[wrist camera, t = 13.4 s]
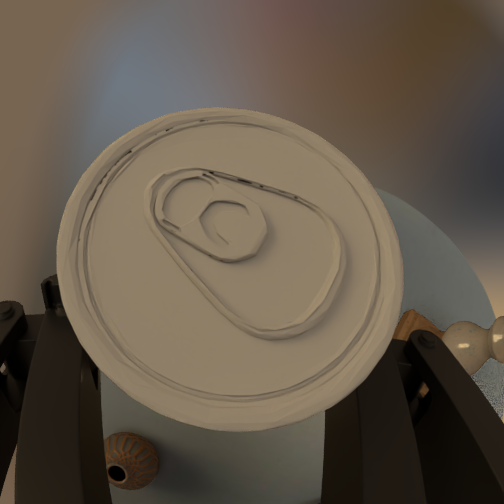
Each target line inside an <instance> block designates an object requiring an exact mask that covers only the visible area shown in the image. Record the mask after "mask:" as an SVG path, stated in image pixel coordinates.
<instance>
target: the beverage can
mask: <svg viewBox="0 0 504 504" xmlns="http://www.w3.org/2000/svg"><path fill="white" fill-rule="evenodd" d="M57 277H58V282H59V288H60V293H61V298H62V303H63V306H64V309H65V311H66V314H67V317H68V319H69V321H70V323H71V325H72V327H73V330H74V332H75V334H76V336H77V338H78V340H79V342H80V343H81V345H82V346H83V348H84V349H85V350H86V352H87V353H88V355H89V356H90V357H91V359H92V360H93V362H94V363H95V364H96V366H97V367H98V368H99V369H100V370H101V371H102V372H103V373H104V374H105V375H106V376H107V377H108V378H109V379H111V380H112V381H113V382H114V383H115V384H116V385H117V386H118V387H120V388H121V389H122V390H123V391H124V392H125V393H126V394H128V395H129V396H130V397H132V398H133V399H135V400H137V401H138V402H140V403H142V404H143V405H145V406H147V407H149V408H150V409H152V410H154V411H156V412H157V413H159V414H161V415H164V416H167V417H169V418H172V419H174V420H177V421H180V422H183V423H187V424H191V425H194V426H198V427H202V428H206V429H212V430H221V431H231V432H245V431H258V430H267V429H272V428H277V427H282V426H287V425H291V424H296V423H299V422H301V421H303V420H305V419H308V418H310V417H312V416H314V415H316V414H318V413H320V412H322V411H325V410H327V409H329V408H331V407H332V406H334V405H335V404H337V403H338V402H339V401H341V400H342V399H344V398H345V397H347V396H348V395H349V394H350V393H351V392H352V391H353V390H354V389H356V388H357V387H358V386H359V385H360V384H361V383H362V382H363V381H364V380H365V379H366V378H367V377H368V375H369V374H370V373H371V371H372V370H373V369H374V367H375V366H376V364H377V363H378V362H379V360H380V359H381V357H382V356H383V355H384V353H385V351H386V349H387V347H388V345H389V343H390V341H391V339H392V337H393V334H394V331H395V328H396V326H397V323H398V319H399V314H400V309H401V303H402V297H403V260H402V255H401V250H400V245H399V240H398V236H397V233H396V231H395V228H394V225H393V222H392V220H391V218H390V216H389V214H388V212H387V210H386V208H385V206H384V204H383V202H382V200H381V199H380V197H379V196H378V194H377V193H376V191H375V190H374V188H373V187H372V185H371V184H370V182H369V181H368V180H367V178H366V177H365V175H364V174H363V173H362V172H361V171H360V170H359V169H358V168H357V167H356V166H355V165H354V164H353V163H352V162H351V161H350V160H349V159H348V158H347V157H346V156H345V155H344V154H343V153H341V152H340V151H339V150H338V149H336V148H335V147H334V146H332V145H331V144H330V143H328V142H327V141H325V140H324V139H322V138H321V137H320V136H318V135H317V134H315V133H313V132H311V131H308V130H307V129H305V128H303V127H301V126H299V125H296V124H294V123H292V122H290V121H287V120H284V119H281V118H278V117H275V116H272V115H268V114H264V113H260V112H255V111H251V110H244V109H233V108H212V107H209V108H201V109H194V110H188V111H182V112H176V113H171V114H167V115H165V116H162V117H160V118H157V119H155V120H152V121H150V122H147V123H145V124H142V125H140V126H138V127H136V128H134V129H133V130H131V131H130V132H128V133H127V134H125V135H123V136H122V137H120V138H119V139H117V140H116V141H114V142H113V143H112V144H111V145H110V146H108V147H107V148H106V149H105V150H104V151H103V152H102V153H101V154H100V155H99V156H98V157H97V158H96V159H95V161H94V162H93V163H92V164H91V165H90V166H89V168H88V169H87V170H86V171H85V172H84V174H83V175H82V177H81V179H80V180H79V182H78V183H77V185H76V187H75V189H74V191H73V193H72V195H71V197H70V199H69V201H68V203H67V204H66V208H65V211H64V214H63V218H62V221H61V226H60V231H59V236H58V242H57Z"/></svg>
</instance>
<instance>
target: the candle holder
mask: <svg viewBox="0 0 504 504" xmlns="http://www.w3.org/2000/svg"><path fill="white" fill-rule="evenodd" d="M417 329H421V330H428V331H431V332H432V333H433V334H435V335H437V336H438V337H439V338H440V339H441V340H442V341H443V342H444V343H445V345H446V346H447V347H448V348H449V350H450V351H451V352H452V353H453V355H454V356H455V357H456V359H457V360H458V361H459V362H460V364H461V365H462V366H463V368H464V369H465V370H466V372H467V373H468V374H469V375H470V376H472V375H473V374H475V373H476V372H477V371H478V370H479V369H480V368H481V367H482V365H483V364H484V363H485V362H486V361H487V360H488V359H489V358H494V359H495V360H497V361H498V362H500V363H504V316H501V317H498V318H497V319H496V320H495V322H494V323H493V325H492V326H491V327H490V328H489V329H484V328H482V327H480V326H478V325H476V324H475V323H472V322H469V321H459V322H456V323H454V324H452V325H451V326H450V327H449V328H448V329H447V330H446V331H443V332H441V331H440V330H439V329H438V328H436V327H435V326H434V325H433V324H432V323H431V322H430V321H429V320H427V319H426V318H425V317H423V316H422V315H420V314H418V313H417V312H416V311H415V310H413V309H412V310H409V311H406V312H405V313H404V314H403V316H402V318H401V320H400V322H399V324H398V325H397V327H396V329H395V331H394V334H393V337H392V338H394V339H399V340H405V341H407V339H408V337H409V335H410V333H411V332H412V331H413V330H417ZM428 390H429V389H428V387H427V386H426V384H424V385H423V387H422V389H421V390H420V394H421V395H422V396H423V397H424V396H425V395H426V394H427V392H428Z"/></svg>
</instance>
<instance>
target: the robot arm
mask: <svg viewBox="0 0 504 504" xmlns="http://www.w3.org/2000/svg"><path fill="white" fill-rule="evenodd" d="M41 288H42V293H43V298H44V303H45V307H46V311H45V314H39V315H38V314H37V315H25V313H24V309H23V306H22V305H21V304H20V303H19V302H16V301H2V302H0V367H1V366H2V364H3V363H4V365H5V366H6V369H5V370H4V372H3V373H1V371H0V496H1V492H2V488H3V485H4V481H5V478H6V474H7V471H8V468H9V465H10V462H11V459H12V456H13V453H14V450H15V448H16V445H17V453H16V468H15V504H112V499H111V494H110V488H109V481H108V474H107V467H106V459H105V450H104V439H103V427H102V411H101V382H100V370H99V368H98V367H97V366H96V364H95V363H94V362H93V360H92V359H91V357H90V356H89V355H88V353H87V352H86V350H85V349H84V348H83V346H82V345H81V343H80V342H79V340H78V338H77V336H76V334H75V332H74V330H73V327H72V325H71V323H70V321H69V319H68V317H67V314H66V311H65V309H64V306H63V303H62V298H61V293H60V288H59V282H58V277H57V274H56V275H53V276H50V277H48V278H46V279H45V280H44V281H43V282H42V283H41ZM424 384H426V386H427V387H428V389H429V390H428V392H427V394H426V395H425V396H424V397H423V396H422V395H421V394H420V390H421V389H422V387H423V385H424ZM426 502H427V503H426ZM321 504H504V423H503V422H502V420H501V419H500V417H499V416H498V414H497V413H496V411H495V410H494V409H493V407H492V406H491V404H490V403H489V401H488V400H487V399H486V397H485V396H484V394H483V393H482V392H481V390H480V389H479V388H478V386H477V385H476V384H475V382H474V381H473V379H472V378H471V377H470V375H469V374H468V373H467V372H466V370H465V369H464V368H463V366H462V365H461V364H460V362H459V361H458V360H457V359H456V357H455V356H454V355H453V353H452V352H451V351H450V350H449V348H448V347H447V346H446V345H445V343H444V342H443V341H442V340H441V339H440V338H439V337H438V336H437V335H435V334H433V333H432V332H431V331H428V330H421V329H417V330H413V331H412V332H411V333H410V335H409V337H408V339H407V341H405V340H399V339H394V338H392V339H391V341H390V343H389V345H388V347H387V349H386V351H385V353H384V355H383V356H382V357H381V359H380V360H379V362H378V363H377V364H376V366H375V367H374V369H373V370H372V371H371V373H370V374H369V375H368V377H367V378H366V379H365V380H364V381H363V382H362V383H361V384H360V385H359V386H358V387H357V388H356V389H354V390H353V391H352V392H351V393H350V394H349V395H348V396H347V397H345V398H344V399H342V400H341V401H339V402H338V403H337V404H335V405H334V406H332V407H331V408H329V409H327V410H325V440H324V461H323V478H322V492H321Z"/></svg>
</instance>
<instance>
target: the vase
mask: <svg viewBox="0 0 504 504" xmlns="http://www.w3.org/2000/svg"><path fill="white" fill-rule="evenodd" d="M104 450H105V459H106V467H107V474H108V481H109V482H110V483H111V484H113V485H114V486H116V487H119V488H122V489H126V490H136V489H140V488H143V487H145V486H147V485H148V484H150V483H151V482H152V481H153V480H154V478H155V477H156V475H157V472H158V469H159V459H158V455H157V452H156V450H155V449H154V447H153V446H152V444H151V443H150V442H149V441H148V440H146V439H145V438H143V437H142V436H140V435H138V434H135V433H130V432H119V433H115V434H113V435H111V436H109V437H107V438H106V439H105V440H104Z"/></svg>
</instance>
